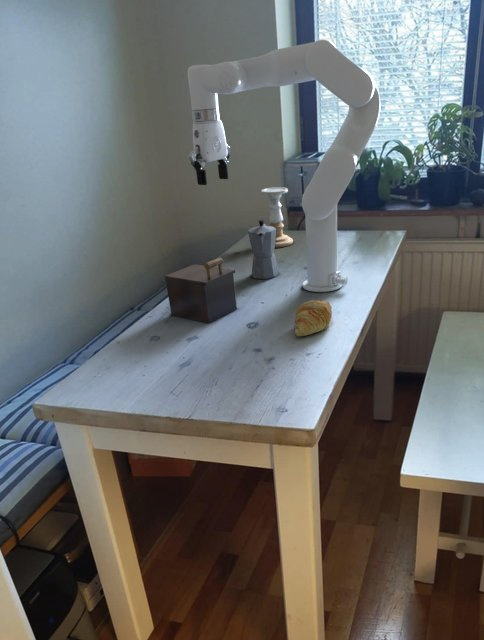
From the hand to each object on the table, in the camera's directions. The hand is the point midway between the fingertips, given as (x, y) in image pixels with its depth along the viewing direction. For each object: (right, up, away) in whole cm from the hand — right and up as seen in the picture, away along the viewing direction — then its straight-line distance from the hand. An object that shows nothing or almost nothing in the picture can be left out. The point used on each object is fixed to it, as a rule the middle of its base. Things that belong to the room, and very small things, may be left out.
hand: (213, 181), depth 180 cm
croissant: (+29, -46, -15) cm, 56 cm away
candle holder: (+20, +2, +61) cm, 64 cm away
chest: (-3, -39, 0) cm, 39 cm away
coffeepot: (+15, -20, +28) cm, 37 cm away
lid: (-3, -30, -6) cm, 31 cm away
